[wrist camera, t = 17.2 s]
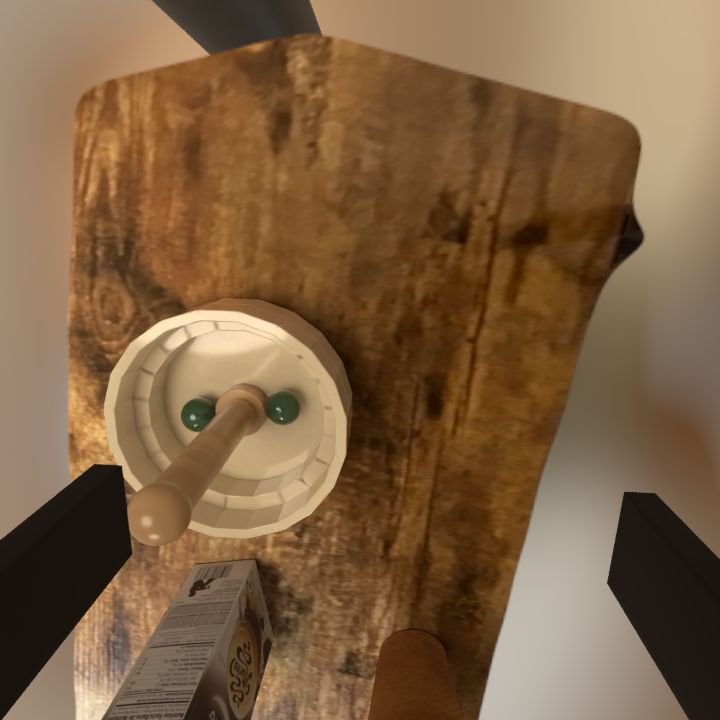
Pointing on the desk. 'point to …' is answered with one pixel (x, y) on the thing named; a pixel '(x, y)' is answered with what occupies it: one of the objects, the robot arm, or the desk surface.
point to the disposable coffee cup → (413, 680)
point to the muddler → (195, 468)
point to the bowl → (211, 380)
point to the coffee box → (203, 651)
